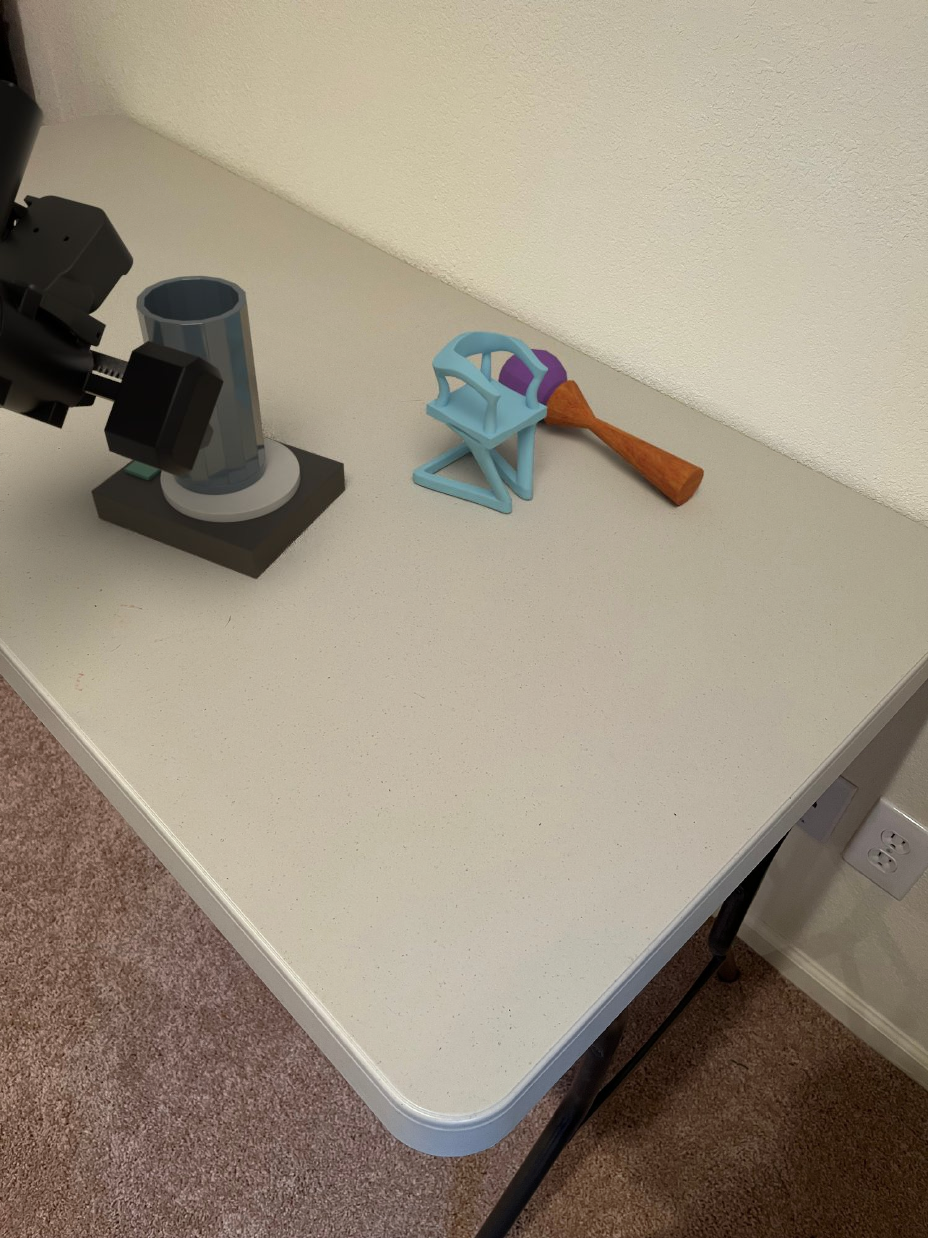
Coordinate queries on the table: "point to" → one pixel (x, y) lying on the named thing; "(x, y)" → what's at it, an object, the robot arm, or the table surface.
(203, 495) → the scale
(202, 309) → the cup
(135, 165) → the table surface
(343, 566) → the table surface
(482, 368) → the chair
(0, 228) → the robot arm
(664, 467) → the kendama
